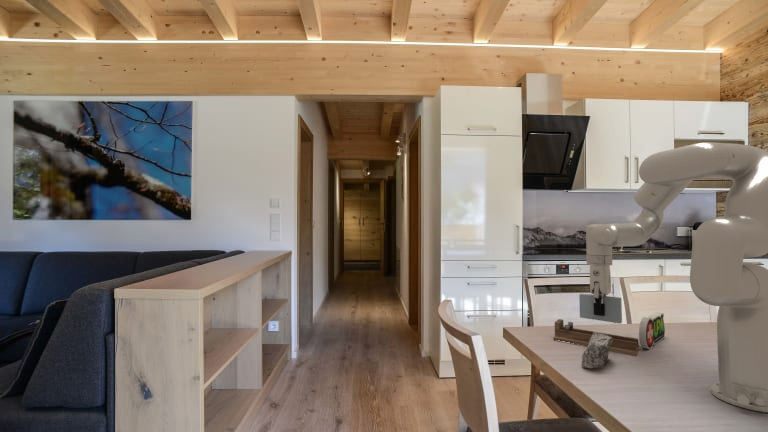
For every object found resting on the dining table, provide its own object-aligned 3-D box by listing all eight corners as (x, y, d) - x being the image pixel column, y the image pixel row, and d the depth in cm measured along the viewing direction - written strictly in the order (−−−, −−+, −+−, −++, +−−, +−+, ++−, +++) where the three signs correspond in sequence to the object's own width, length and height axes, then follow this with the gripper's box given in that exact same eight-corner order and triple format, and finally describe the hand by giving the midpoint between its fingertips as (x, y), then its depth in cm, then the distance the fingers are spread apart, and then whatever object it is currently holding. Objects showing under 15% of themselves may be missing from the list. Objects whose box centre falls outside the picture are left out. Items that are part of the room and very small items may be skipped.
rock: (598, 375, 96) (601, 337, 97) (566, 365, 102) (569, 329, 103) (620, 371, 105) (622, 336, 106) (589, 361, 112) (592, 329, 113)
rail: (635, 355, 111) (635, 336, 111) (553, 340, 126) (553, 323, 127) (639, 348, 117) (638, 330, 118) (560, 334, 133) (560, 318, 133)
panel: (620, 323, 116) (620, 298, 116) (579, 317, 124) (579, 294, 124) (621, 322, 118) (621, 297, 118) (581, 316, 126) (580, 293, 126)
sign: (658, 337, 129) (658, 309, 130) (665, 338, 128) (664, 310, 128) (639, 350, 115) (638, 319, 116) (646, 352, 114) (645, 320, 114)
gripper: (607, 262, 113) (608, 321, 113) (616, 259, 125) (617, 311, 125) (581, 261, 118) (582, 317, 117) (591, 257, 130) (592, 308, 130)
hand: (600, 313), depth 121 cm, fingers closed on panel, 2 cm apart
